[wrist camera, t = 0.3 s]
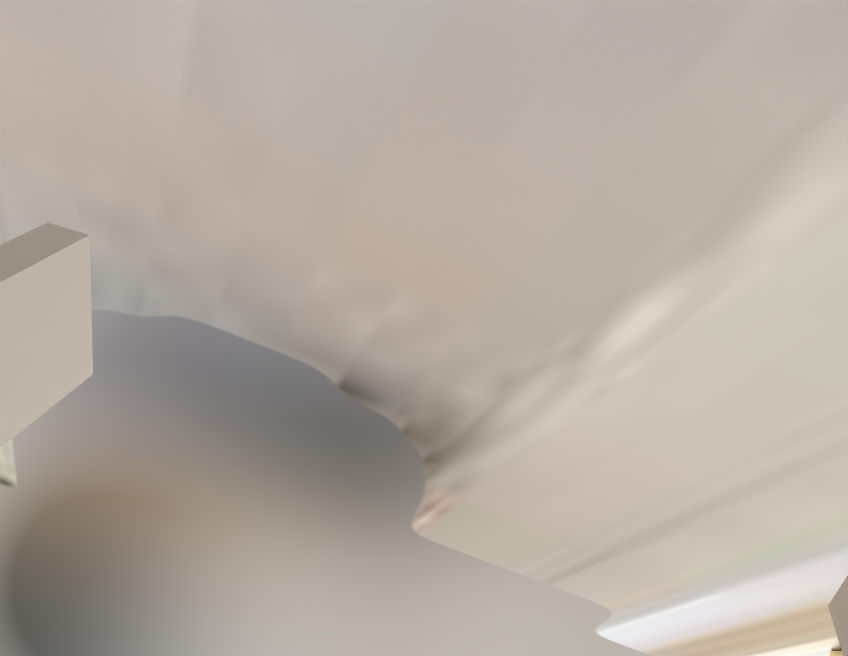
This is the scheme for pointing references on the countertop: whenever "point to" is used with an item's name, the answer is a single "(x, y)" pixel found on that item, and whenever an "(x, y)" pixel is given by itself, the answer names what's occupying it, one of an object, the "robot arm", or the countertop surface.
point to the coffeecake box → (836, 653)
